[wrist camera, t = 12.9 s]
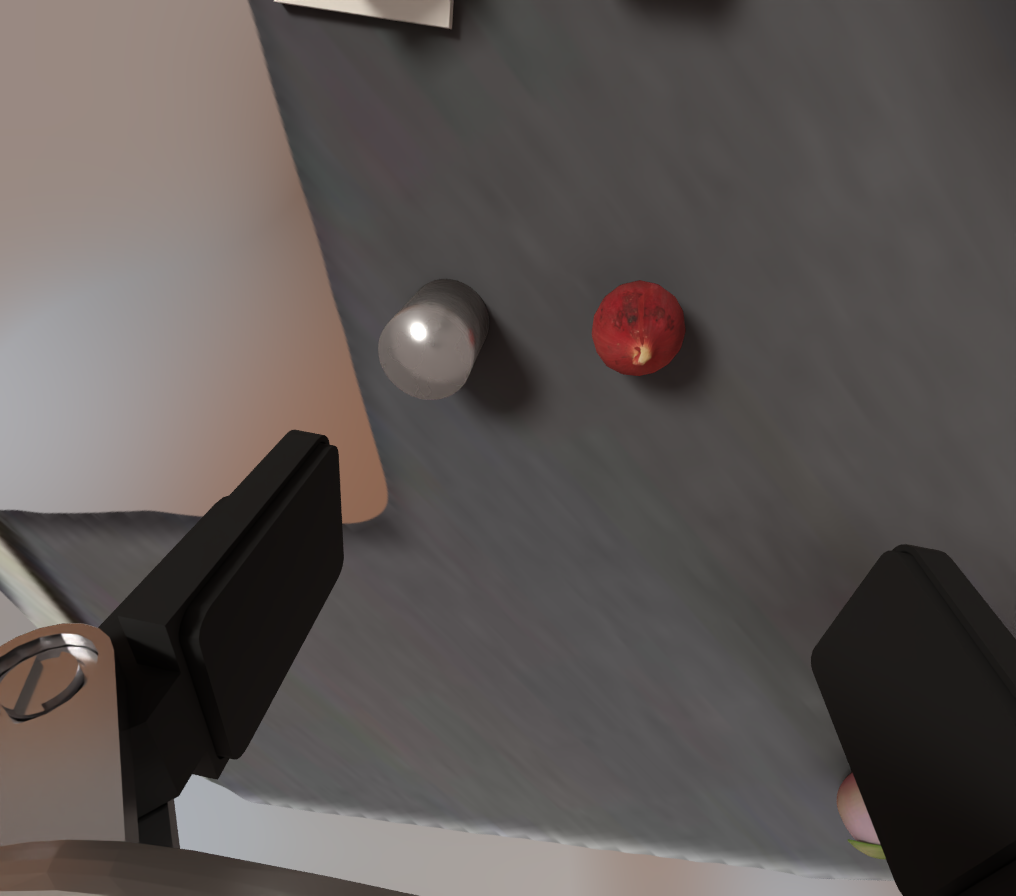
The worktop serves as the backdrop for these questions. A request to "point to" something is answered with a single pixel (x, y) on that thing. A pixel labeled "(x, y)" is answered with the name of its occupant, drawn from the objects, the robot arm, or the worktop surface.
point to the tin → (434, 340)
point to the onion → (638, 328)
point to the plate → (389, 9)
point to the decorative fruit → (858, 819)
